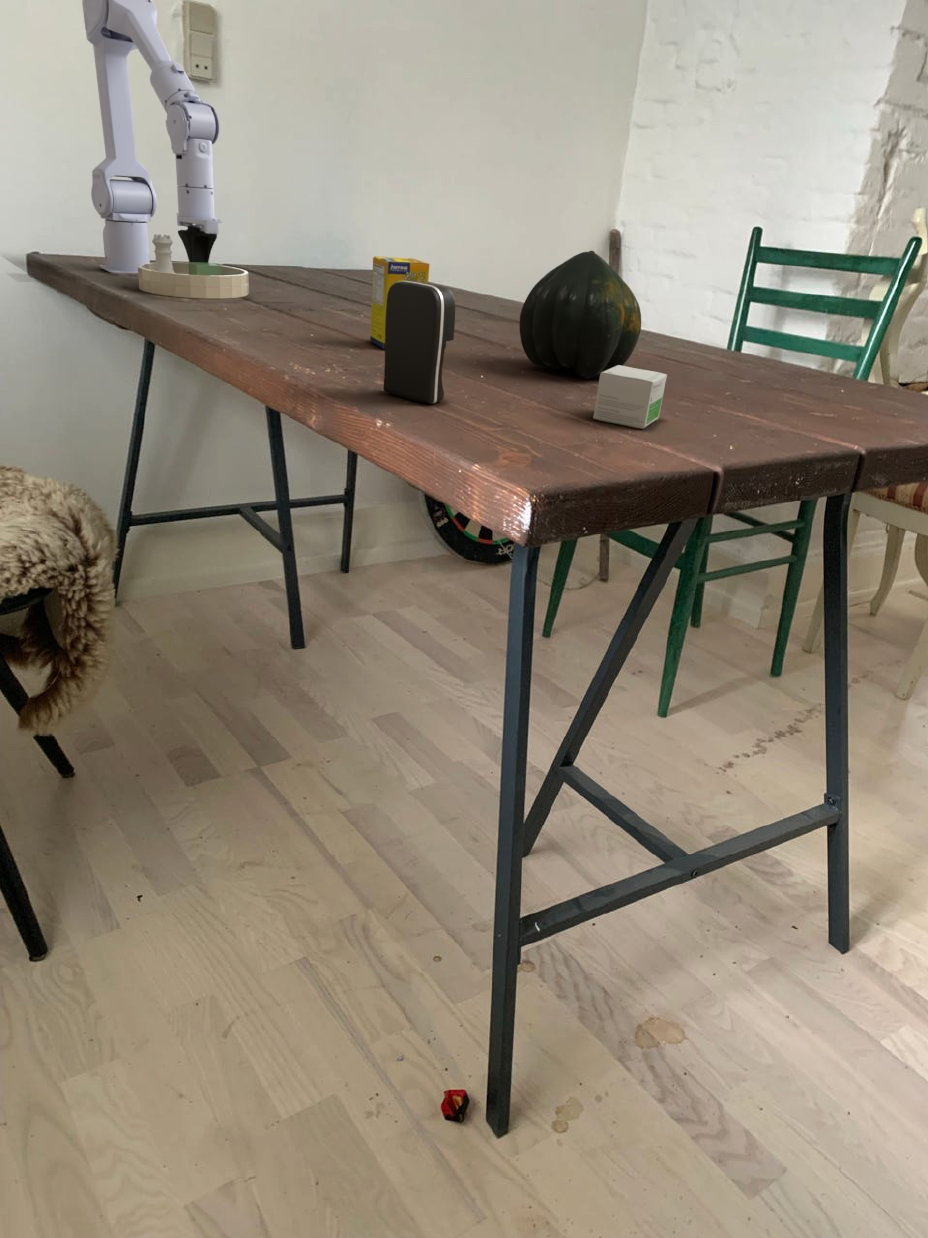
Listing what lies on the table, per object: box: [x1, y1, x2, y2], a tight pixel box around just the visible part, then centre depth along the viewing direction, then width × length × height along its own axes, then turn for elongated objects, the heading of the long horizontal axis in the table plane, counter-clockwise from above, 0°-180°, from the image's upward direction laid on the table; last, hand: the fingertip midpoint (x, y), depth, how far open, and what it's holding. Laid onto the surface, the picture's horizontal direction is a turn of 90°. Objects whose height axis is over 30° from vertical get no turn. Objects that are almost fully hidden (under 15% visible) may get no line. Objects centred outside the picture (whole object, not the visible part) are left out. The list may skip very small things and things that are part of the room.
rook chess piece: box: [151, 234, 175, 273], centre depth 147 cm, size 4×4×8 cm
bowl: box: [137, 261, 250, 300], centre depth 148 cm, size 17×17×4 cm
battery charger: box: [383, 281, 456, 404], centre depth 93 cm, size 7×4×11 cm, turn 52°
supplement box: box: [369, 255, 430, 350], centre depth 119 cm, size 6×6×11 cm
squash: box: [519, 250, 642, 380], centre depth 113 cm, size 14×15×15 cm
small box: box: [592, 365, 668, 430], centre depth 93 cm, size 6×6×5 cm
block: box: [188, 261, 221, 276], centre depth 151 cm, size 4×4×4 cm
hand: (199, 276), depth 153 cm, fingers closed, pressing on block
